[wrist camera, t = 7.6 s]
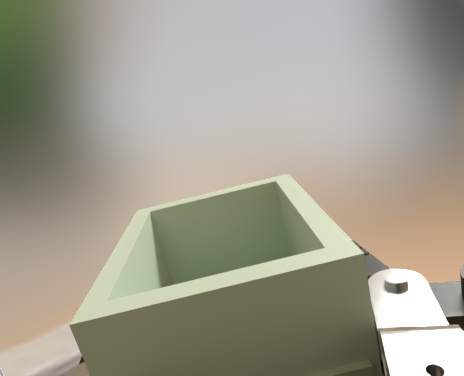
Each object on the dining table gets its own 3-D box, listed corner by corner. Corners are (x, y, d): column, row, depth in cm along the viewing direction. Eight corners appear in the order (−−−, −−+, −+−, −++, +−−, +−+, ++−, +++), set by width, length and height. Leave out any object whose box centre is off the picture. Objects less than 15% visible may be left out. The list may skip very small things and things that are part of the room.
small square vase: (204, 663, 8) (65, 330, 6) (206, 420, 14) (138, 209, 12) (420, 611, 8) (368, 257, 6) (330, 390, 14) (287, 172, 12)
